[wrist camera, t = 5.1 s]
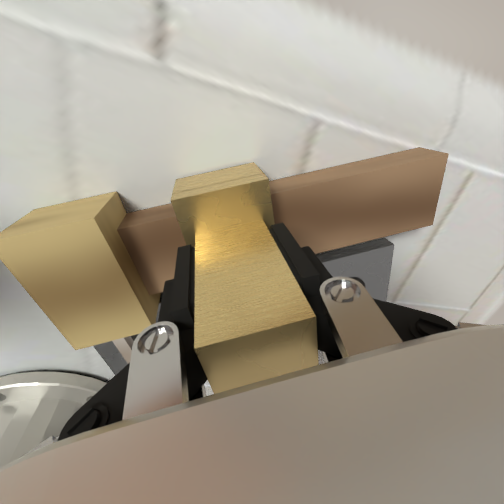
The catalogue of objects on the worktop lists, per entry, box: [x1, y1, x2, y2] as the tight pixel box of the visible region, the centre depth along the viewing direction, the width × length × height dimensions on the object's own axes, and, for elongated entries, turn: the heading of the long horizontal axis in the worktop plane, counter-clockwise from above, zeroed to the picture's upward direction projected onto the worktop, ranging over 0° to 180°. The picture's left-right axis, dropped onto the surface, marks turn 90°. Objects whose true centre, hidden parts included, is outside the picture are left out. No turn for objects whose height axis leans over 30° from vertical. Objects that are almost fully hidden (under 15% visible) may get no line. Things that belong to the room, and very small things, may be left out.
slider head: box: [171, 162, 319, 394], centre depth 12 cm, size 11×4×9 cm, turn 10°
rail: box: [0, 147, 448, 363], centre depth 15 cm, size 11×21×3 cm, turn 100°
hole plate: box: [93, 238, 394, 375], centre depth 18 cm, size 7×20×1 cm, turn 100°
